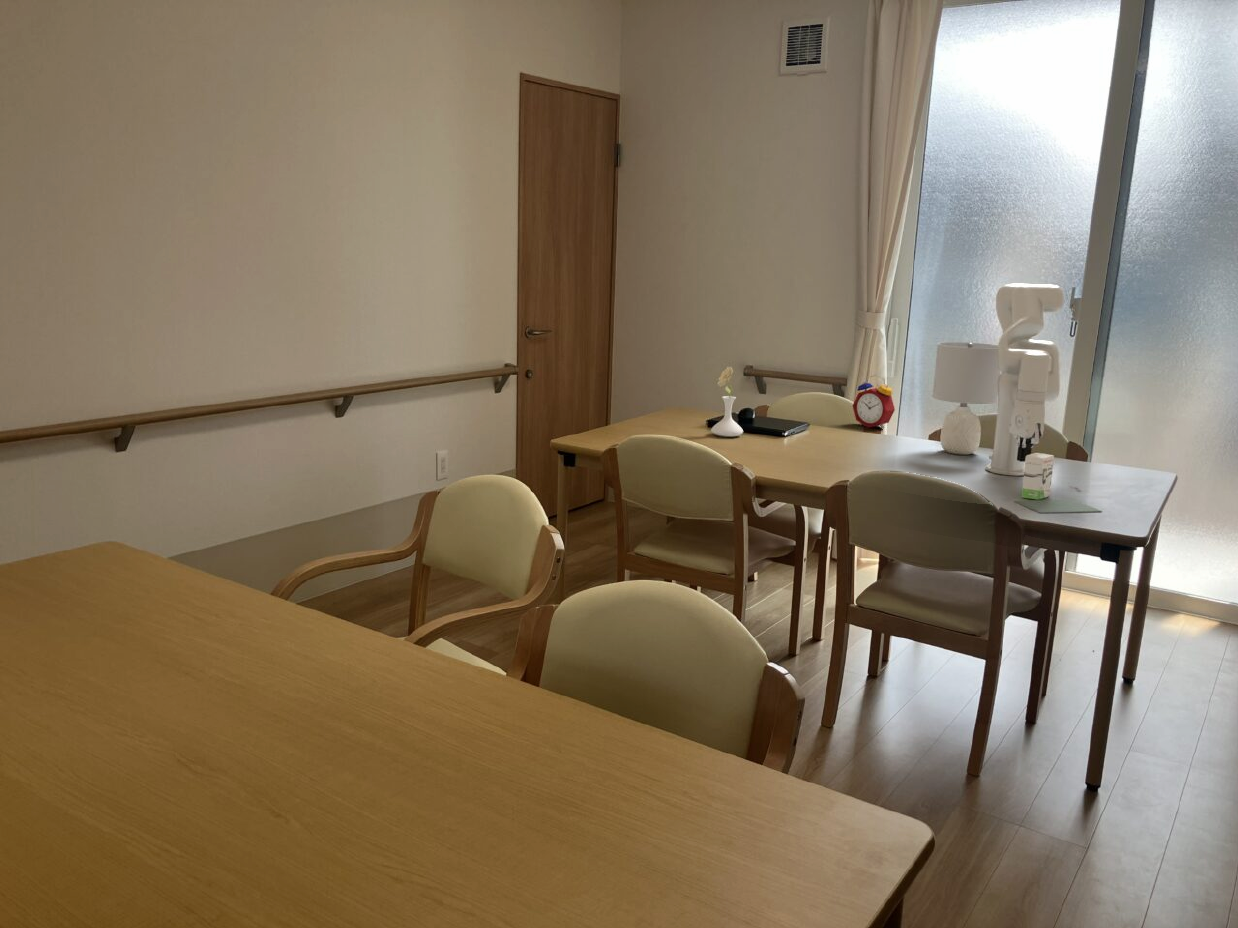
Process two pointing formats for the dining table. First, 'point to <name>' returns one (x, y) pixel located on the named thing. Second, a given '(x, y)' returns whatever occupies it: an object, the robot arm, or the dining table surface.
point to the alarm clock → (873, 405)
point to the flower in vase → (727, 410)
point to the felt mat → (1057, 506)
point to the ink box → (1037, 476)
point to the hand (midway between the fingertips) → (1023, 460)
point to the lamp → (965, 390)
